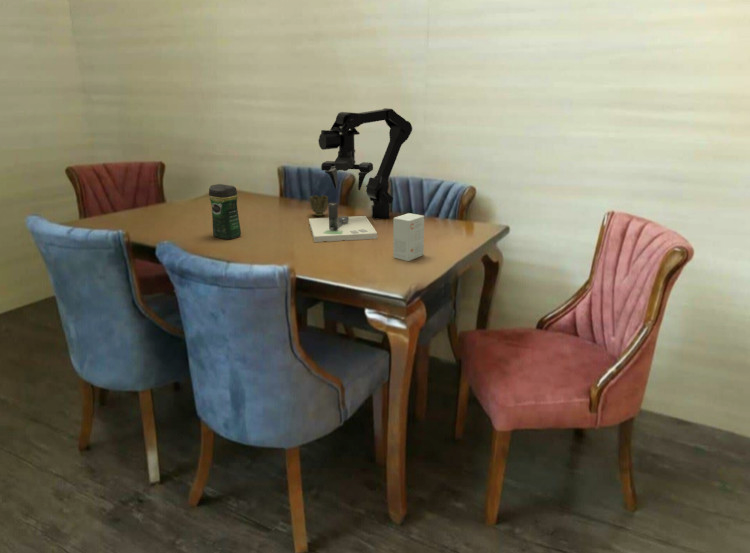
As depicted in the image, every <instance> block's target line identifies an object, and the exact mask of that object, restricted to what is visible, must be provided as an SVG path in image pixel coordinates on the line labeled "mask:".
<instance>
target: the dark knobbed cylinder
mask: <svg viewBox="0 0 750 553" xmlns="http://www.w3.org/2000/svg"><path fill="white" fill-rule="evenodd" d="M327 209H328V210H327V211H328V218H329V229H330V230H337V229H338V226H340V225H341V224H343V223H348V222H349V217H350V216H345V215H341V216H338V214H339V212H338V211H339V210H338V203H336V202H328V204H327Z"/></svg>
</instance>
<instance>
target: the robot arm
mask: <svg viewBox="0 0 750 553" xmlns="http://www.w3.org/2000/svg"><path fill="white" fill-rule="evenodd" d="M381 121H384V122H385V123H386V126H387V127H389V128H390V129H389V132H388V133H389V142H388V145H387V147H386V150H385V153H384V154H383V157H382V161H381V162H380V166H379V168H378V171H377V172H376V175H375V176H373V177H371V176H370V177H369V179H368V181H367V184H366V186H365V189H366V190H365V192H366V196H368V198H369V200H370V201H371V202H372V205H371V206H370V209H371V210H370V211H371V215H370V216H371V217H372V218H373V219H374V220H383V219H384V220H387V219H391V216H390V204H392V203H393V199H394V197H393V196H392V195H391V194H390V193H389V188H390V184H389V178H390V176H391V174H392V171H393V167H394V165H395V163H396V160H397V157H398V155H399V152H400V151H401V150H400V149H401V147H402V146H403V144H404V143H406V141H407V140H408V139H409V138H410V136H411V134H412V132H413V126H412V123H411V122H410V121H409V120H406V119H405V118H404V117H402V116H401V115H400V114H398V113H397V112H396V111H395V110H394V109H393V108H382V109H376V110H371V111H362V112H350V111H349V112H348V111H340V112H339V113H337V115H336V117H335V120H334V122H333V124H332V126H331V128H330V129H328V130H327V129H321V133H320V134H319V137H318V146H319V148H320V149H321V150H323V151H324V150H335V149H338V152H337V157H336V158H335V160H334V161H333V160H326V161H324V162H322V163H321V166H320V169H321V171H323V172H325V173H326V174H327V175H329V177H330V179H331V181H332V185H333V188H334V189H335V190H337V189H338V171H344V172H347V171H349V170H359V172H358V173H357V175H358V185H357V186H358V187H357V189H358V191H360V190H361V188H362V186H363V184H364V180H365V178H366V175H367V174H369V173H370V172H373V171H374V164H373V163H372V162H368V161H367V162H365V161H363V162H361V163H359V164H357V163H356V156H355V153H356V149H355V136H357V135H360V132H359V131H358V130H357V128H358V127H360V126H362V125H363V124H368V123H375V122H381Z"/></svg>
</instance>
